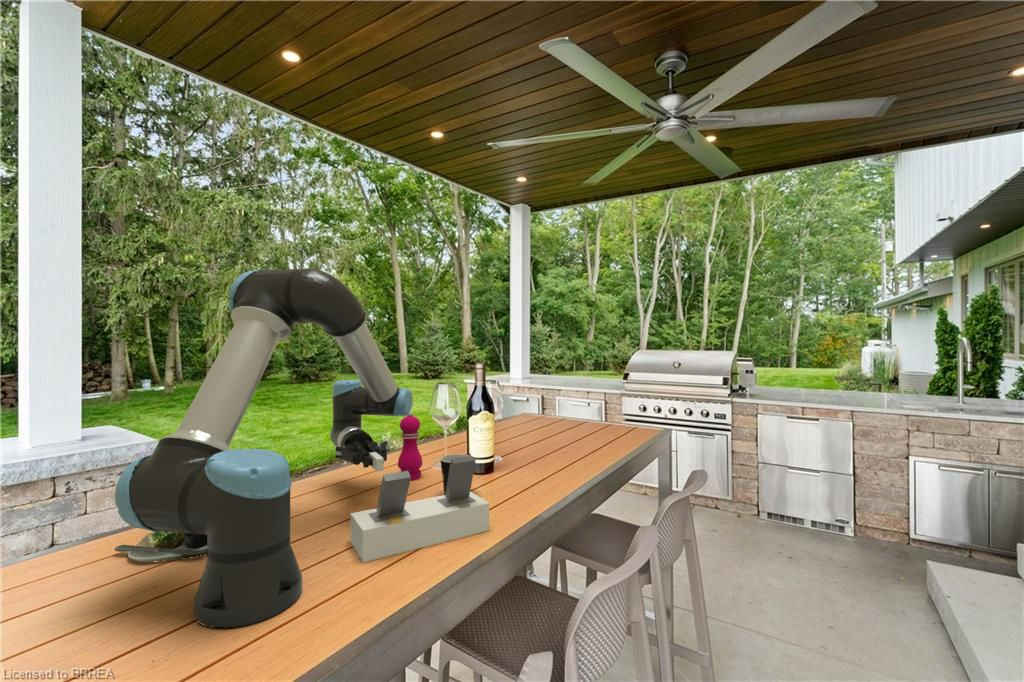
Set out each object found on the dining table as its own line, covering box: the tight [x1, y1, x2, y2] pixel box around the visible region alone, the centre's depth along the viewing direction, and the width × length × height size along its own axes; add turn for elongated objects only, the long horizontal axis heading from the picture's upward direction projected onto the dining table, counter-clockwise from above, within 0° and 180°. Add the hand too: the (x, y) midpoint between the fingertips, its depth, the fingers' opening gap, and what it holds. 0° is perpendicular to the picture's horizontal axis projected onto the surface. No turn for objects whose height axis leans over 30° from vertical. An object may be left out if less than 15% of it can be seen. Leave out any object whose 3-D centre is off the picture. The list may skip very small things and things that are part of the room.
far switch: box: [445, 455, 476, 502], centre depth 101 cm, size 5×2×10 cm, turn 122°
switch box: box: [350, 490, 490, 563], centre depth 99 cm, size 27×10×6 cm, turn 122°
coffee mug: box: [440, 453, 470, 495], centre depth 125 cm, size 12×9×10 cm
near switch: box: [376, 471, 411, 517], centre depth 92 cm, size 5×2×10 cm, turn 122°
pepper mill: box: [397, 411, 423, 481], centre depth 140 cm, size 7×7×20 cm
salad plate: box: [114, 531, 207, 563], centre depth 94 cm, size 19×18×5 cm
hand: (380, 464), depth 101 cm, fingers closed
